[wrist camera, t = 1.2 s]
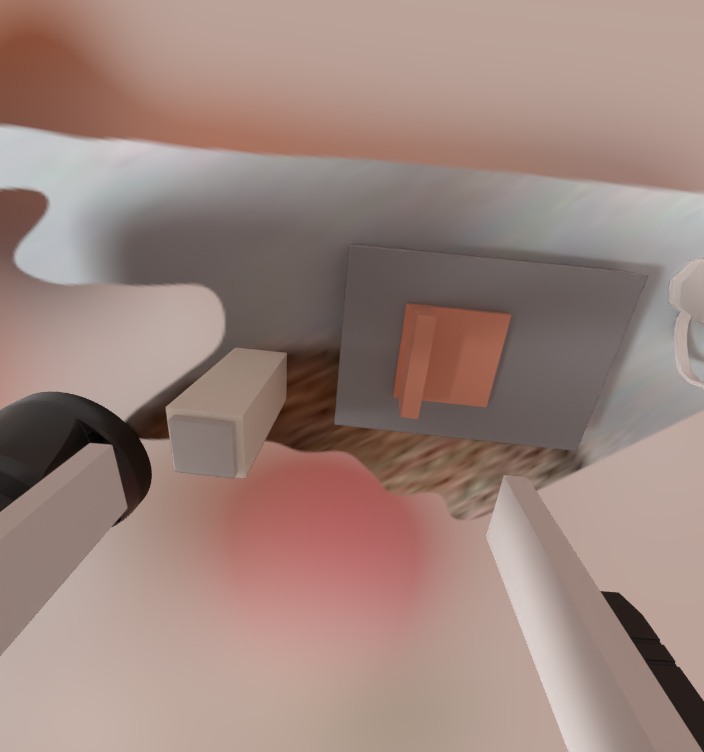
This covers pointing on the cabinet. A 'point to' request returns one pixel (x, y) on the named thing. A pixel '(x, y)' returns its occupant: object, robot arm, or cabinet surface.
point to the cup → (687, 312)
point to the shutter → (447, 356)
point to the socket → (520, 349)
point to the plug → (227, 413)
